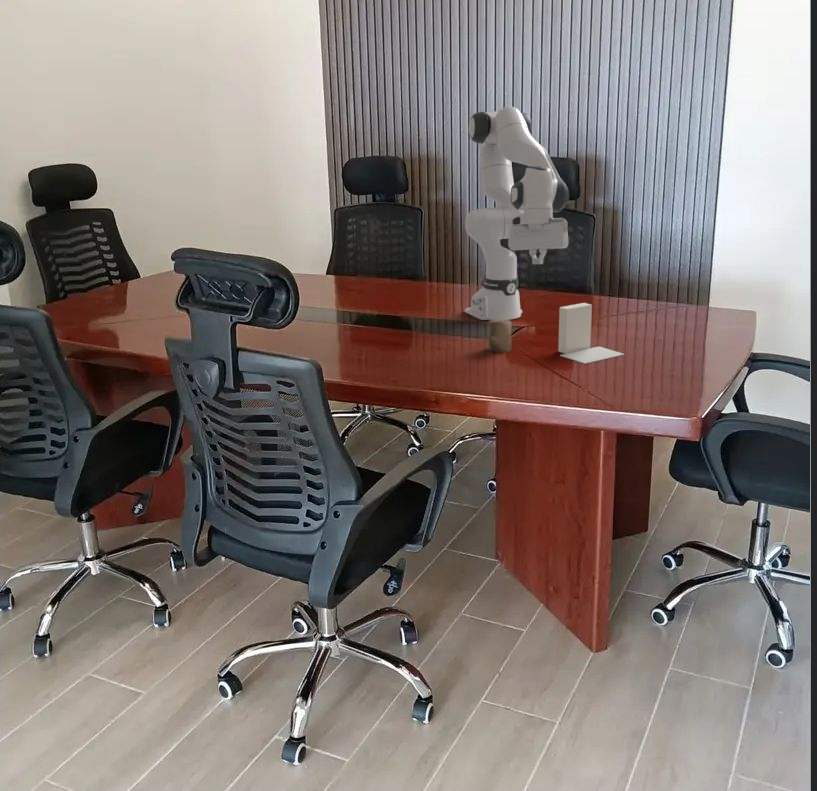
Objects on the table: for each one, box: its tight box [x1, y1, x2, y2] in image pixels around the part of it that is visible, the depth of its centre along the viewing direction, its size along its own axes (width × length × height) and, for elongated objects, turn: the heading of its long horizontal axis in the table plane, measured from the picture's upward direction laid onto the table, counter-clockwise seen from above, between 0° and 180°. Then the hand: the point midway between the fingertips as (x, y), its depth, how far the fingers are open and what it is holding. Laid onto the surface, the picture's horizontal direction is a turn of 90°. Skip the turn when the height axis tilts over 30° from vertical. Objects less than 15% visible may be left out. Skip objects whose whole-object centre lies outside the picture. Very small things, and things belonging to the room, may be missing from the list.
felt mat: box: [559, 346, 625, 365], centre depth 268 cm, size 11×16×1 cm
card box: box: [557, 302, 593, 354], centre depth 272 cm, size 4×10×14 cm, turn 122°
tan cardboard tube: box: [488, 319, 512, 354], centre depth 276 cm, size 7×7×9 cm
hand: (537, 264), depth 275 cm, fingers closed
